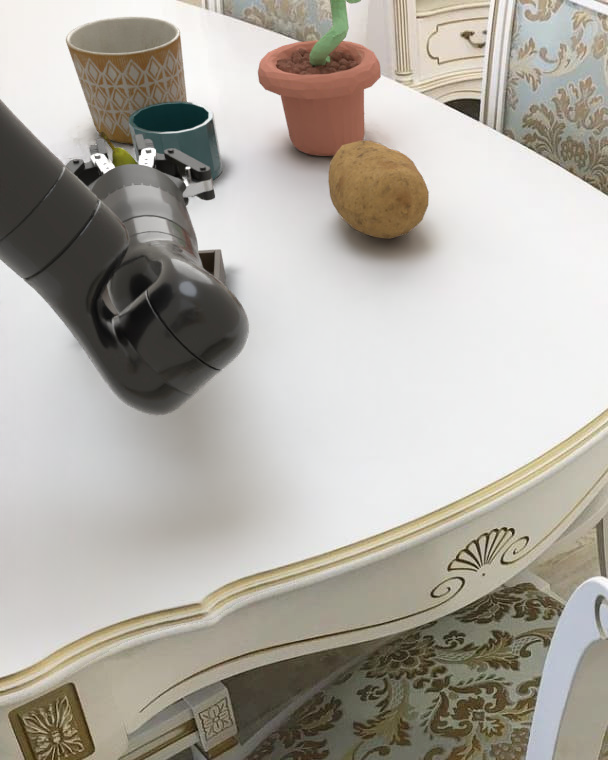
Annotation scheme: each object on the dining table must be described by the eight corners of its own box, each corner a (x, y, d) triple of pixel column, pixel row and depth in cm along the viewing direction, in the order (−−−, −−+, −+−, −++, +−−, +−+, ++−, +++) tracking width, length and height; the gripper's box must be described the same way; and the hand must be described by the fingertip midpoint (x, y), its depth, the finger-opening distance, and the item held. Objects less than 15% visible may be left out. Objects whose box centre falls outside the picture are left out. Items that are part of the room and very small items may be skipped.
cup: (138, 191, 122) (125, 135, 118) (143, 157, 128) (131, 103, 124) (221, 186, 123) (212, 131, 119) (222, 153, 129) (213, 99, 125)
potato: (391, 193, 123) (386, 119, 117) (451, 246, 114) (449, 169, 109) (309, 212, 119) (301, 136, 113) (365, 268, 111) (359, 189, 105)
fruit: (188, 249, 104) (166, 116, 95) (167, 278, 100) (142, 141, 91) (129, 243, 104) (101, 110, 96) (105, 272, 100) (74, 135, 91)
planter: (71, 125, 134) (46, 31, 127) (164, 100, 140) (146, 9, 133) (120, 159, 128) (97, 62, 120) (216, 131, 134) (200, 37, 126)
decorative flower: (308, 111, 138) (274, -183, 117) (408, 128, 135) (393, -171, 114) (246, 157, 129) (197, -155, 107) (353, 177, 125) (324, -141, 104)
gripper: (226, 175, 85) (193, 94, 96) (36, 198, 82) (25, 111, 93) (241, 266, 90) (208, 180, 102) (63, 292, 87) (49, 199, 98)
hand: (121, 147), depth 97 cm, fingers closed on fruit, 2 cm apart
